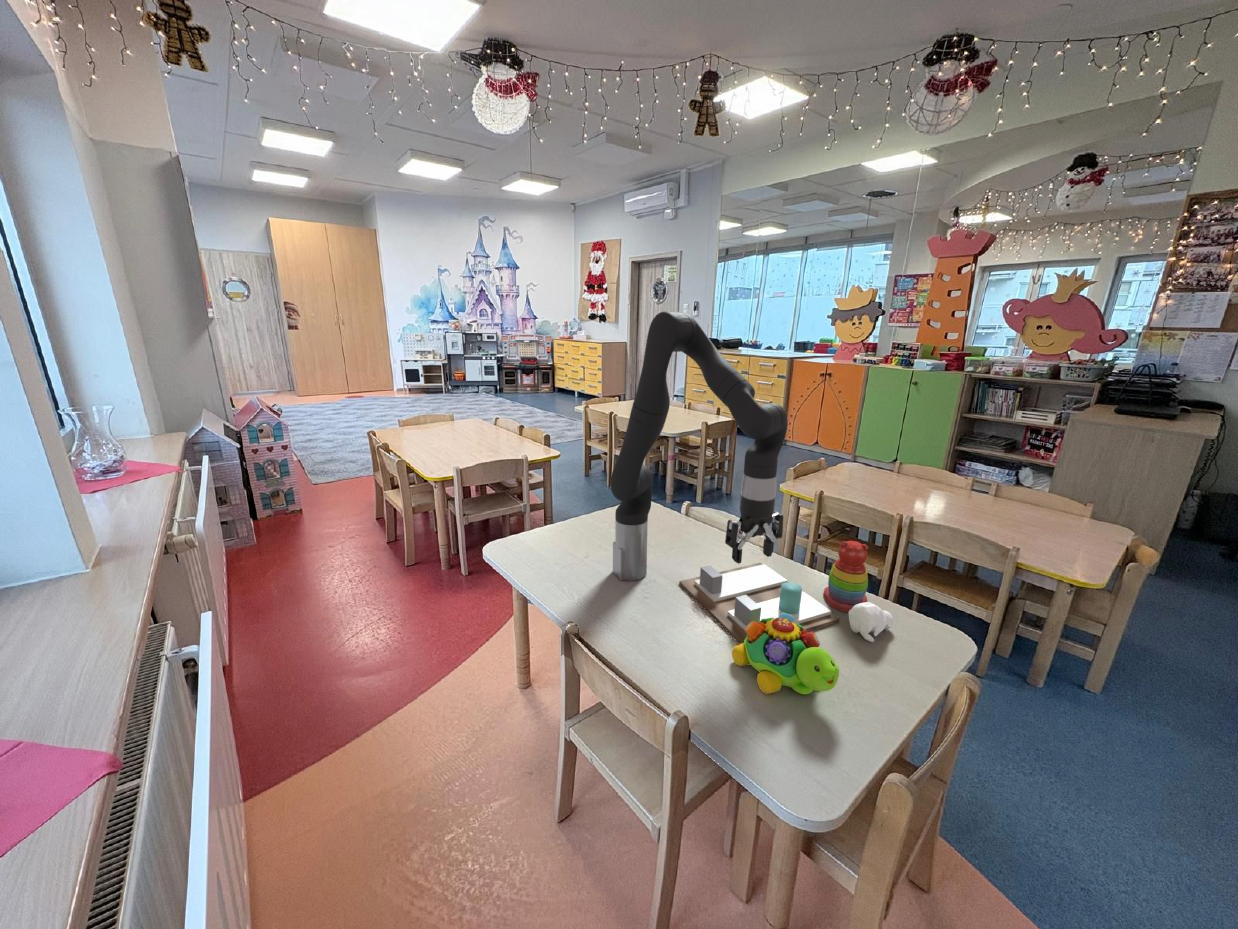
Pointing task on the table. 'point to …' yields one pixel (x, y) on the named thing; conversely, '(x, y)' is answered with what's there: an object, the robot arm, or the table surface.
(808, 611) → the strip
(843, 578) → the stacking bear
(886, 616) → the white toy rabbit
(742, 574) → the empty strip
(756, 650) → the turtle toy
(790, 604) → the teal cylinder
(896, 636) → the table surface
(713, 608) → the lane board
